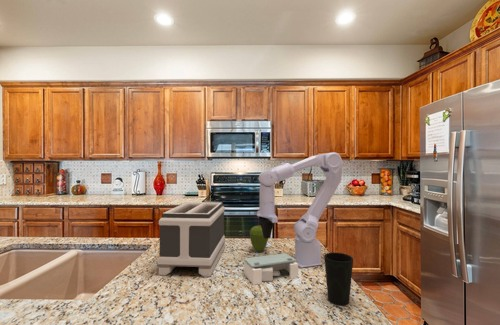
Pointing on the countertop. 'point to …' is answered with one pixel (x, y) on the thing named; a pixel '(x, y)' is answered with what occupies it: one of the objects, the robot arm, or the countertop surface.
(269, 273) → the usb wall charger
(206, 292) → the countertop surface
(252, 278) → the c-shaped bracket
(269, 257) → the cover
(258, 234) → the olive green rounded lump
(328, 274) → the cup
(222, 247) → the toaster
